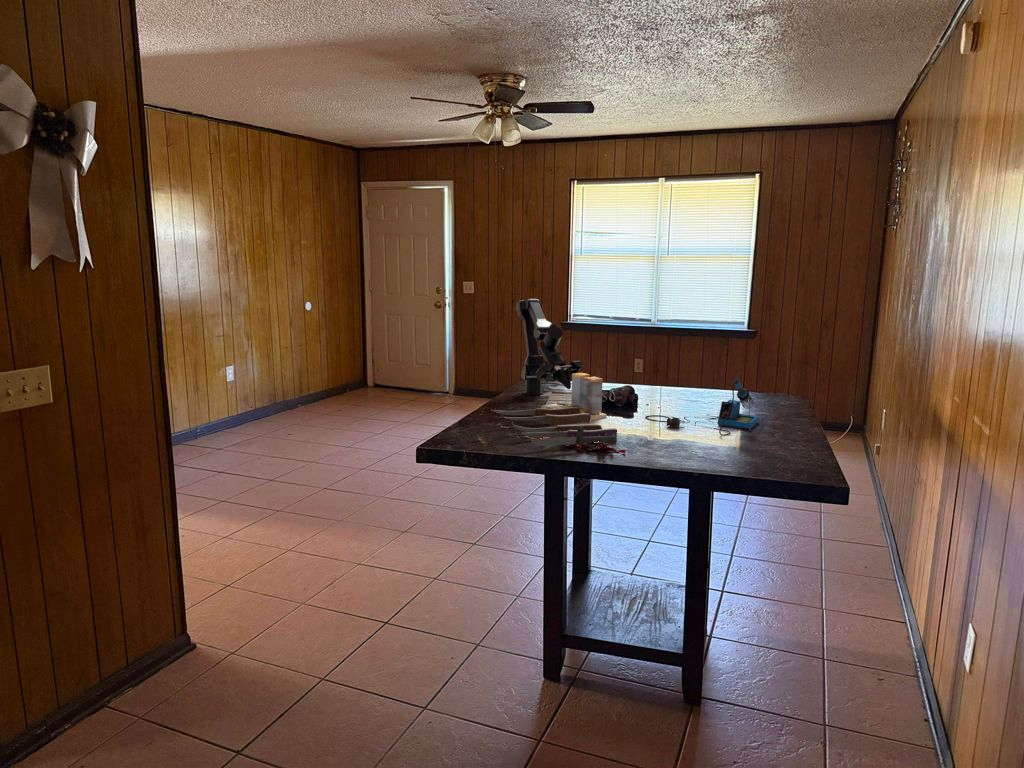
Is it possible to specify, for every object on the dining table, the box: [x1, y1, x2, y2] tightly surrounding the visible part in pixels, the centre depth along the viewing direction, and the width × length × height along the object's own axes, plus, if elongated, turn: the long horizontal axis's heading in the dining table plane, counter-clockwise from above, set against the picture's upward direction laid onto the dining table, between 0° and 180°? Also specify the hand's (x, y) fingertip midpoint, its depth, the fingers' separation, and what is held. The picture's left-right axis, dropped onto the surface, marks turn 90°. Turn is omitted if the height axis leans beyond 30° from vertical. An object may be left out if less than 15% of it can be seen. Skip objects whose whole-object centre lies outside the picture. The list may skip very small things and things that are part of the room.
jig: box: [540, 376, 607, 421], centre depth 249 cm, size 23×11×14 cm, turn 35°
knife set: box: [491, 407, 618, 447], centre depth 219 cm, size 35×33×8 cm
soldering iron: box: [644, 379, 760, 436], centre depth 239 cm, size 35×31×18 cm
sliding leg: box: [563, 372, 591, 408], centre depth 248 cm, size 4×10×12 cm, turn 125°
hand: (569, 388), depth 254 cm, fingers closed
